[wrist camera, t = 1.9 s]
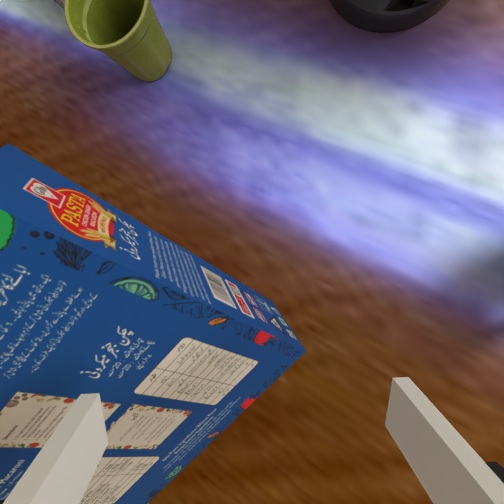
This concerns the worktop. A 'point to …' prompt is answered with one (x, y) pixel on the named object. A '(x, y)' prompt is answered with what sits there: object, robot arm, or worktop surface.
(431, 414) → the robot arm
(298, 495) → the worktop surface
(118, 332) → the pasta box
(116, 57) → the plant pot
